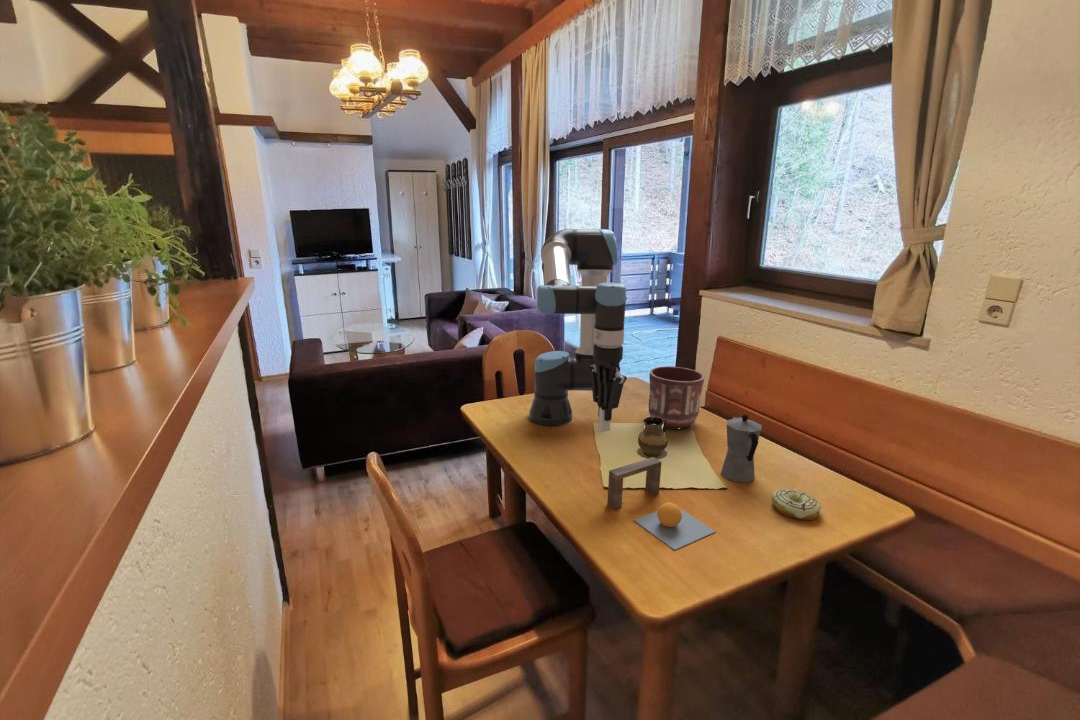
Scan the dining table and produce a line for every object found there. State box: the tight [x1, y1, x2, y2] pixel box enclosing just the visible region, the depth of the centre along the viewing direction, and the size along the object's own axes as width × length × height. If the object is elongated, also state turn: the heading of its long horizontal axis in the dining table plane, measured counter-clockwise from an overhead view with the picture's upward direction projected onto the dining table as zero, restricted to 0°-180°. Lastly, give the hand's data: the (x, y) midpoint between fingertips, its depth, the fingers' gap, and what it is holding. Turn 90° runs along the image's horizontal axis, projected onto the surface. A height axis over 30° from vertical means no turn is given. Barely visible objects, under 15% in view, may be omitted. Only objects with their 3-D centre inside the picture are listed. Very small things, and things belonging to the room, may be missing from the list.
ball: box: [657, 502, 682, 527], centre depth 121 cm, size 6×6×6 cm
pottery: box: [648, 366, 705, 430], centre depth 178 cm, size 18×18×18 cm
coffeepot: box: [720, 413, 762, 484], centre depth 142 cm, size 15×9×18 cm, turn 0°
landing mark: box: [633, 508, 717, 551], centre depth 121 cm, size 13×13×1 cm
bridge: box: [607, 456, 662, 510], centre depth 131 cm, size 3×14×9 cm, turn 122°
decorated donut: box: [771, 488, 822, 521], centre depth 128 cm, size 10×11×4 cm
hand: (604, 430), depth 139 cm, fingers closed
